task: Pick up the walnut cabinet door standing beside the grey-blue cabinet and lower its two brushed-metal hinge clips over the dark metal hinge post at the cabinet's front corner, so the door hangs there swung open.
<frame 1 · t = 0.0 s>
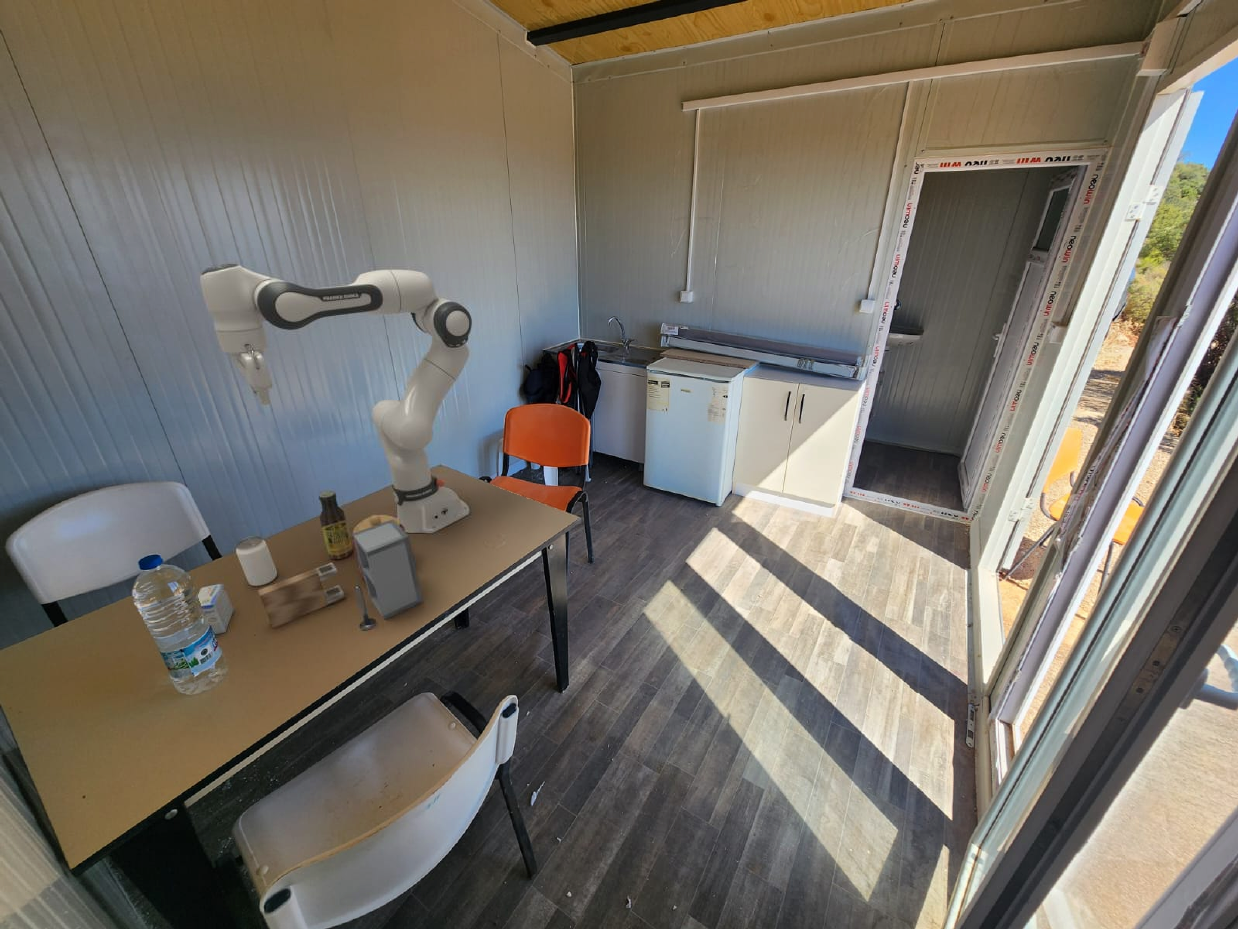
hand: (262, 398, 118), 48 cm above the table, tool pointing down, fingers open, 8 cm apart
can: (263, 579, 132), on the table
medicine box: (220, 624, 118), on the table
sauce bottle: (342, 554, 142), on the table
hinge post: (368, 624, 118), on the table
cabinet: (396, 600, 125), on the table
door: (300, 613, 121), on the table
canister: (387, 570, 136), on the table
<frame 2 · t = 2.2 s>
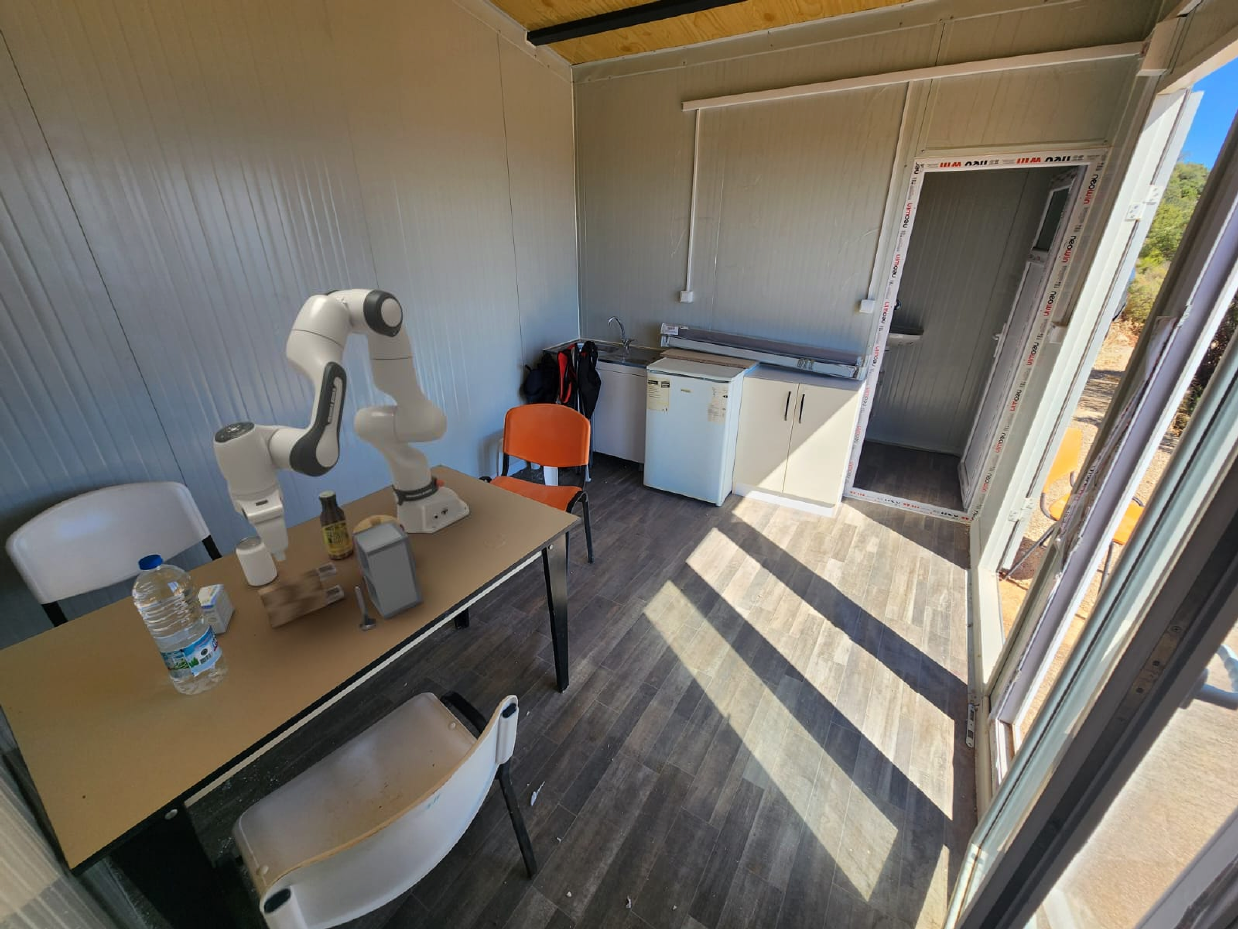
hand: (276, 550, 112), 19 cm above the table, tool pointing down, fingers open, 8 cm apart
nothing on the table moved.
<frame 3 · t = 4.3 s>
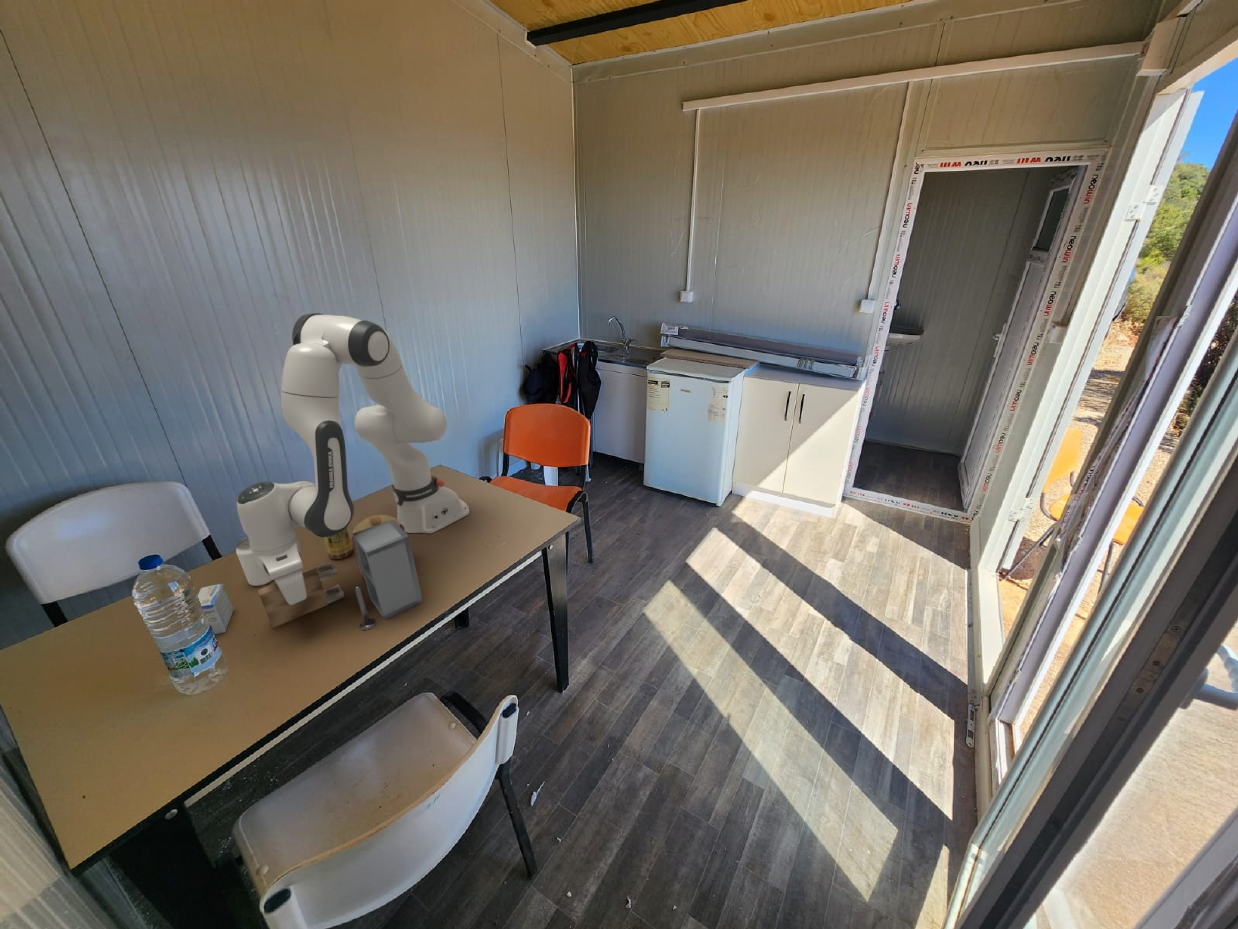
hand: (294, 597, 118), 5 cm above the table, tool pointing down, fingers closed on door, 2 cm apart
door: (300, 613, 121), on the table, touching gripper
everything else where it was.
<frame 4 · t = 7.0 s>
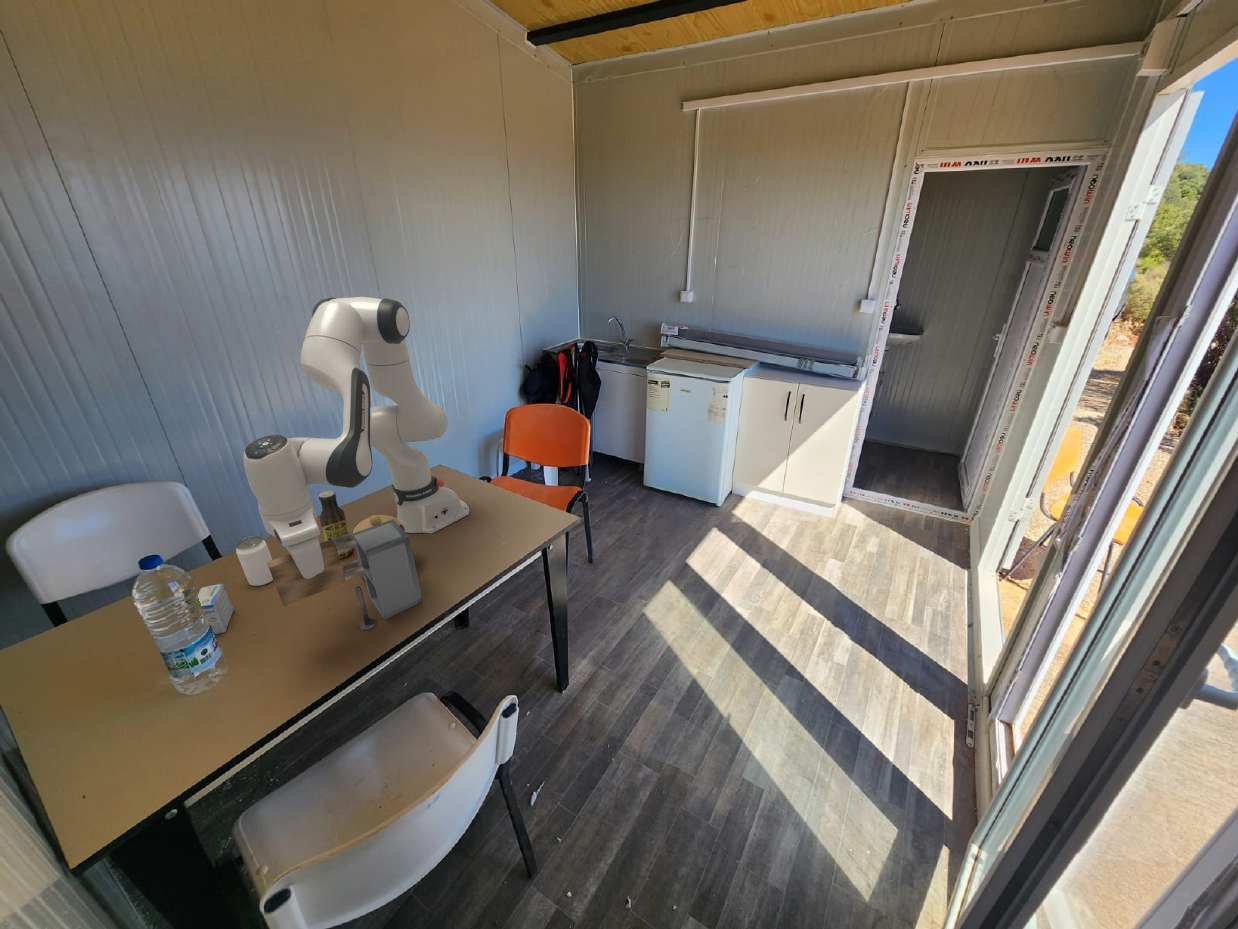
hand: (308, 571, 104), 20 cm above the table, tool pointing down, fingers closed on door, 2 cm apart
door: (314, 590, 106), point 15 cm above the table, touching gripper
everything else where it was.
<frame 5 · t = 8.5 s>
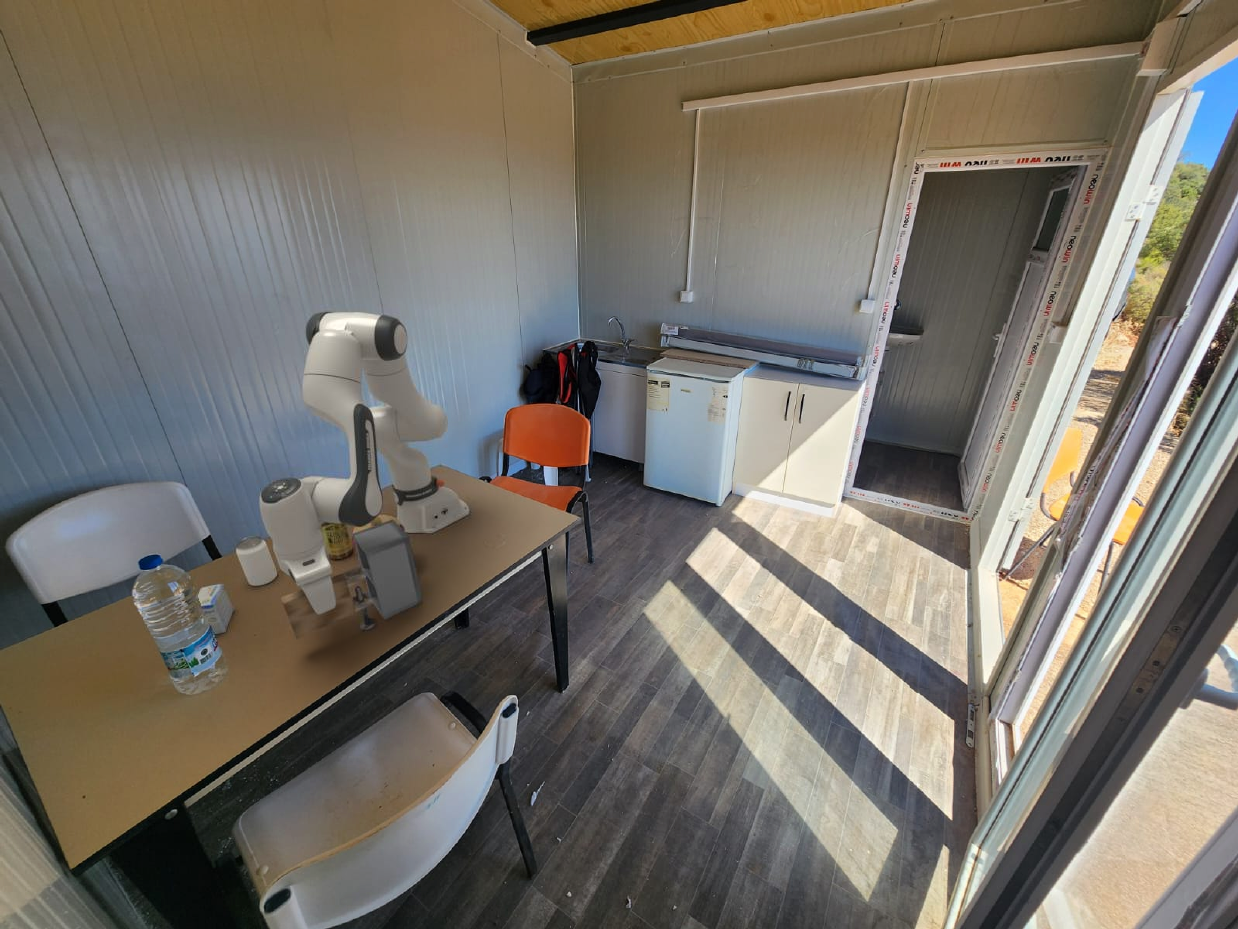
hand: (320, 605, 108), 11 cm above the table, tool pointing down, fingers closed on door, 2 cm apart
door: (325, 622, 110), point 6 cm above the table, touching gripper
everything else where it was.
when the fingers open (6 cm above the table, at t = 9.7 s): door drops 1 cm, on the table.
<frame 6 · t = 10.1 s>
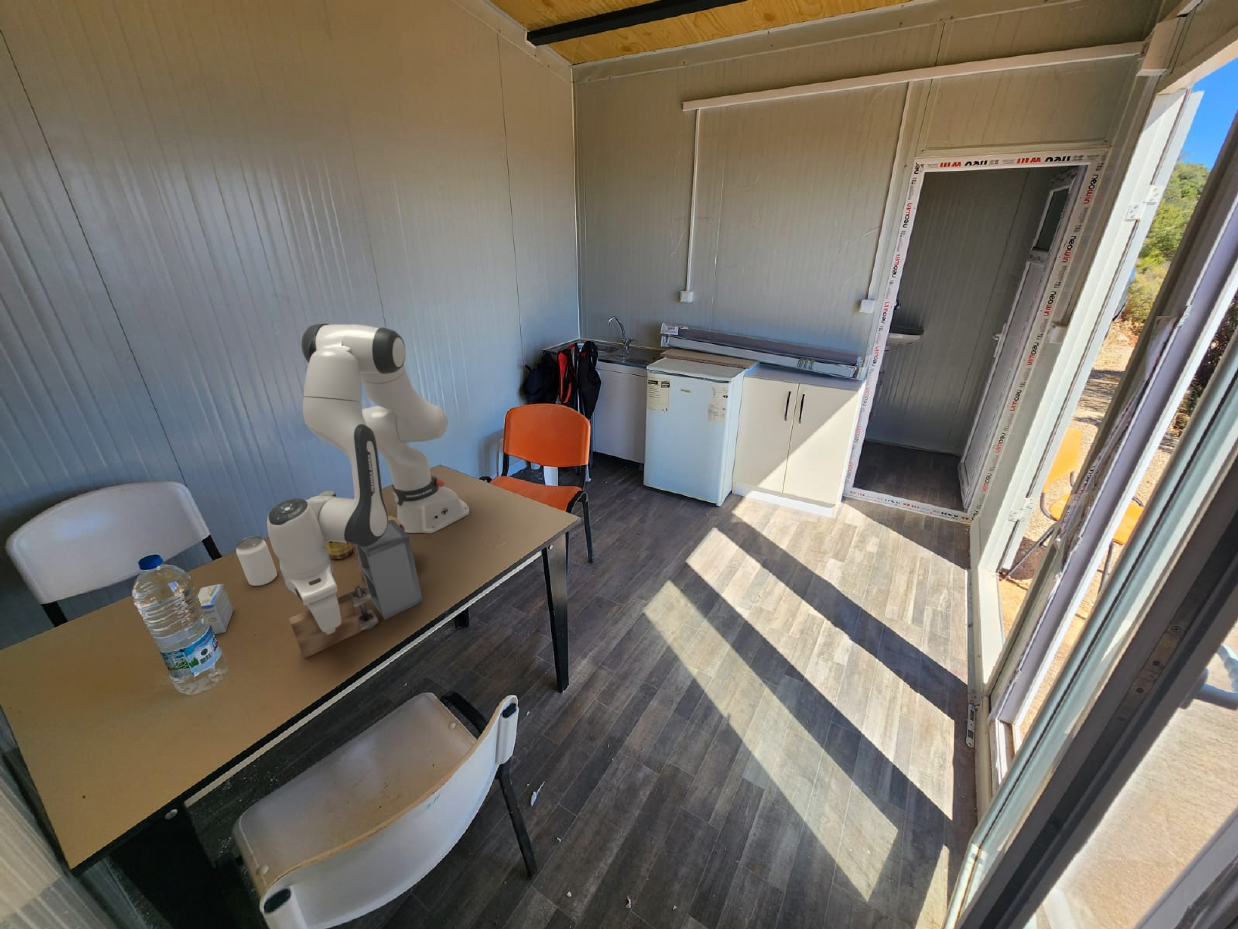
hand: (325, 621, 110), 6 cm above the table, tool pointing down, fingers open, 6 cm apart
door: (332, 641, 113), on the table
everything else where it was.
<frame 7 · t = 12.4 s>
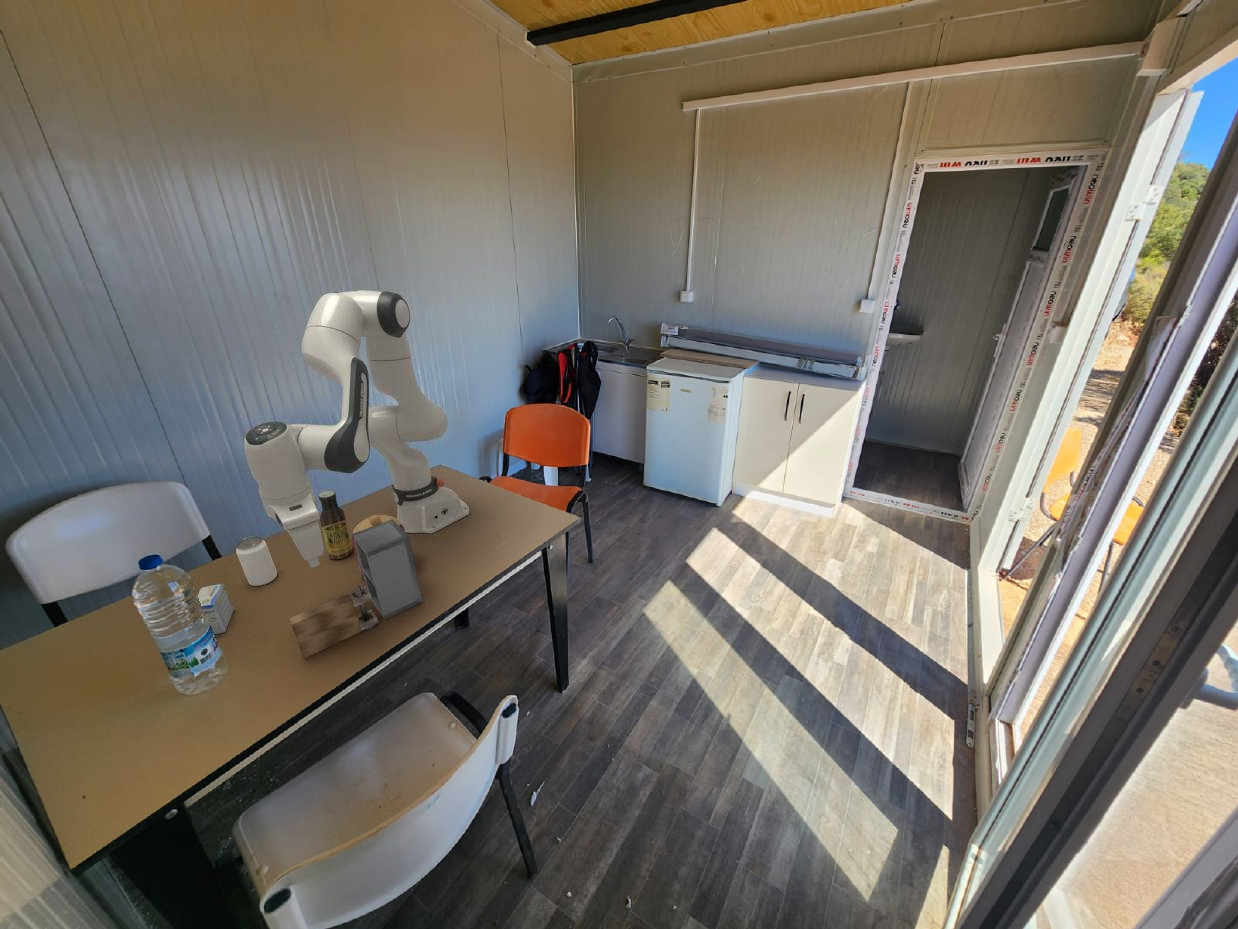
hand: (308, 554, 107), 21 cm above the table, tool pointing down, fingers open, 8 cm apart
nothing on the table moved.
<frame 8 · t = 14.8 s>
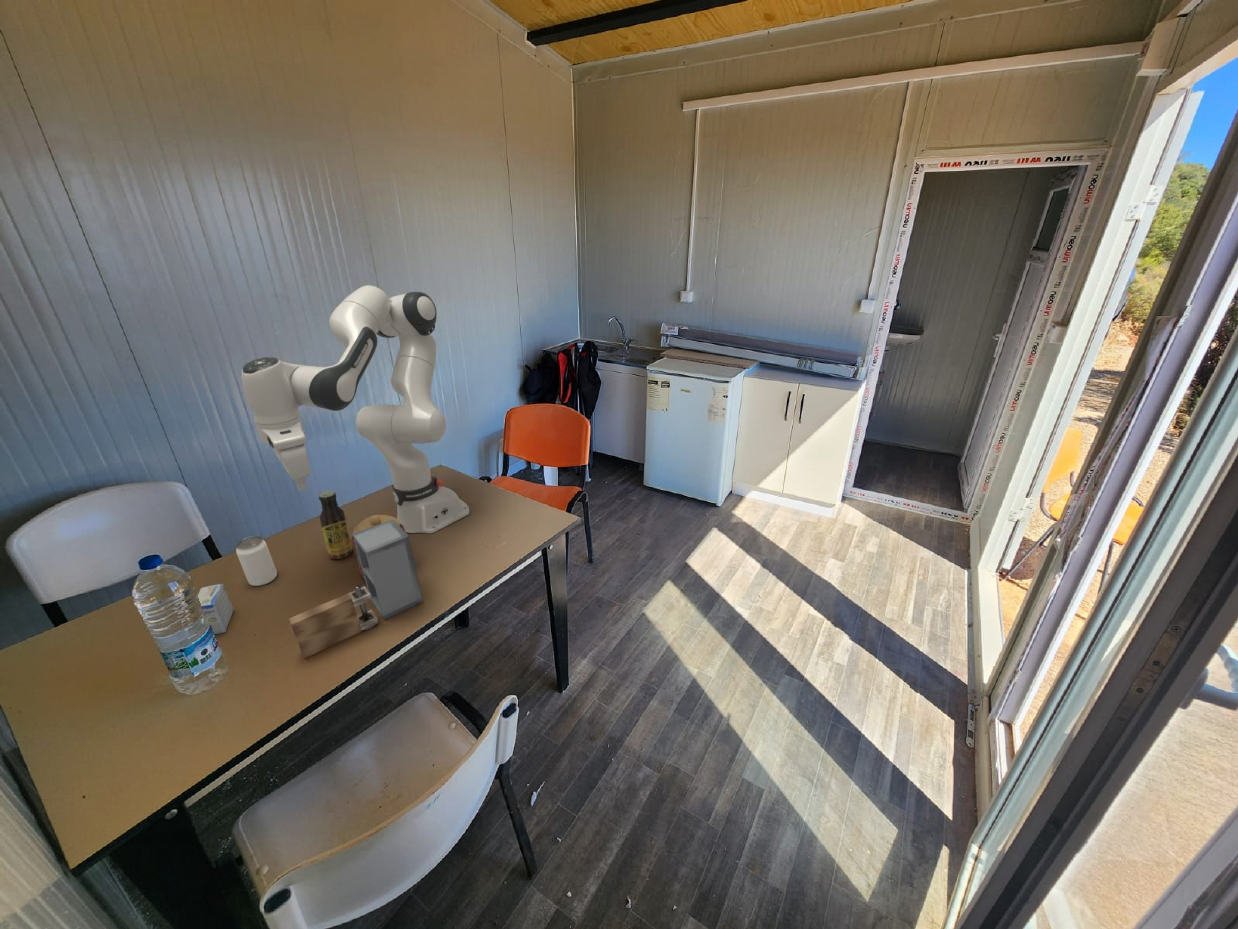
hand: (297, 481, 120), 29 cm above the table, tool pointing down, fingers open, 8 cm apart
nothing on the table moved.
at the end: door 0.1 cm from the target spot, on the table; door tilted 0°; the gripper is holding nothing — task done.
